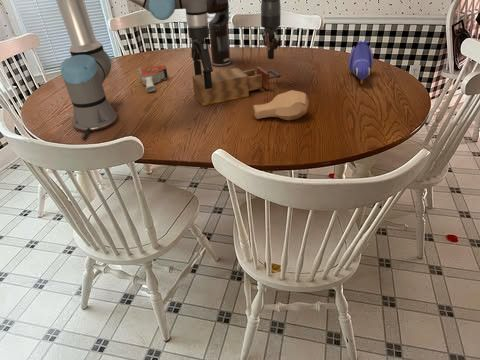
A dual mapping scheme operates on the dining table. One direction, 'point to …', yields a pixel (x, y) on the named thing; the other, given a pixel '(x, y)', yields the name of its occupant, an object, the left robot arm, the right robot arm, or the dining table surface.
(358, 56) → the toy
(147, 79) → the tape dispenser
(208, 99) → the brown wooden block
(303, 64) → the dining table surface
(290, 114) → the squash
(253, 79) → the drawer
